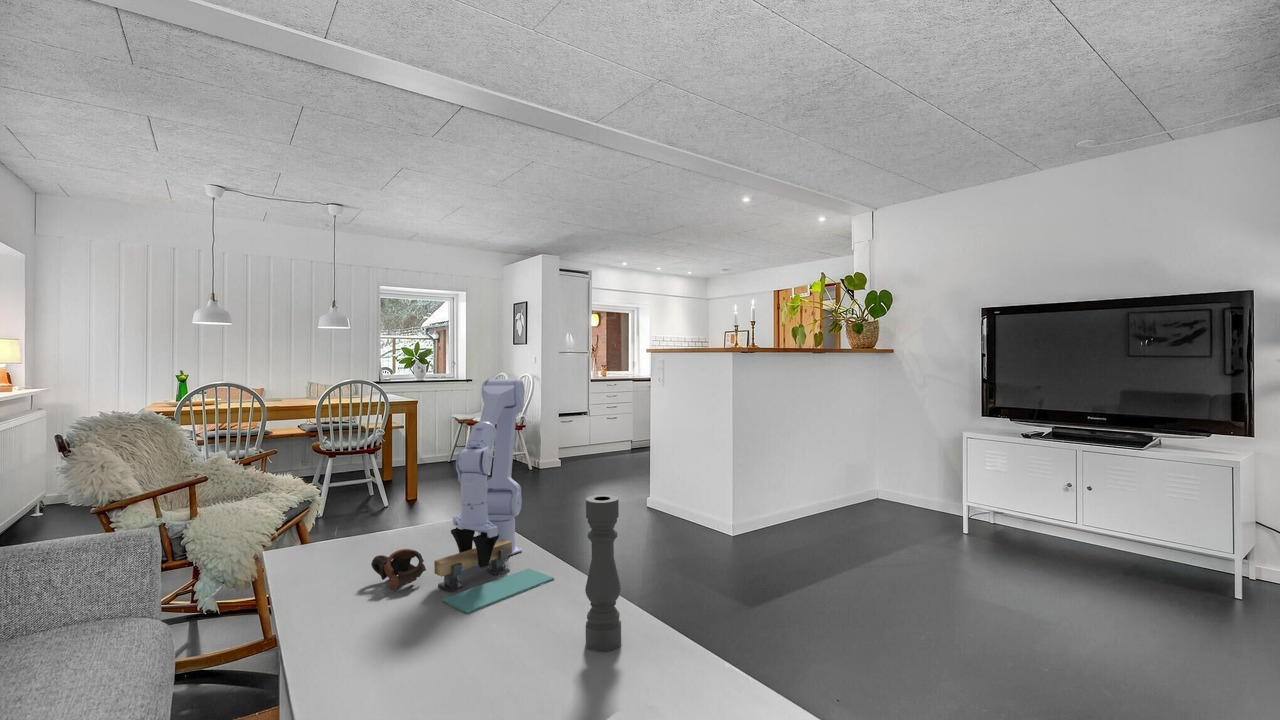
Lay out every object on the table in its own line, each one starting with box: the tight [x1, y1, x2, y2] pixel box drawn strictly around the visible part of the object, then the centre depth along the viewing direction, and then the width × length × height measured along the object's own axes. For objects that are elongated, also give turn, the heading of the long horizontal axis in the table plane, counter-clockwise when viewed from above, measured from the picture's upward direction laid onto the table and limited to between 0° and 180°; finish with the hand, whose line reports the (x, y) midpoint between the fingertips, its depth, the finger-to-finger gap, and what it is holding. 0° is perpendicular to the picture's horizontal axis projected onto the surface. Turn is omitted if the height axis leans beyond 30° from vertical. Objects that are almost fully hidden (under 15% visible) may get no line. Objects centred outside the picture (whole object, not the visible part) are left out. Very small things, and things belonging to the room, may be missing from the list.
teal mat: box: [441, 567, 555, 615], centre depth 122 cm, size 9×22×1 cm, turn 139°
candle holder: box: [584, 494, 622, 653], centre depth 99 cm, size 6×6×25 cm
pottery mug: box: [371, 548, 427, 592], centre depth 126 cm, size 12×10×8 cm
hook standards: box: [438, 548, 510, 593], centre depth 128 cm, size 6×15×6 cm, turn 139°
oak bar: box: [434, 539, 513, 578], centre depth 128 cm, size 3×18×3 cm, turn 139°
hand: (475, 562), depth 128 cm, fingers open, 6 cm apart
